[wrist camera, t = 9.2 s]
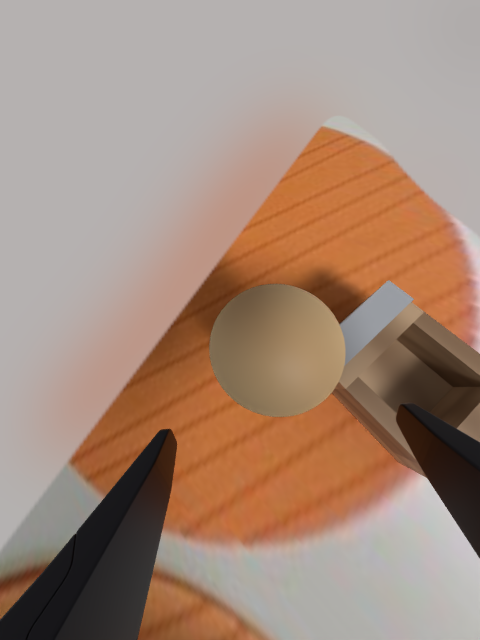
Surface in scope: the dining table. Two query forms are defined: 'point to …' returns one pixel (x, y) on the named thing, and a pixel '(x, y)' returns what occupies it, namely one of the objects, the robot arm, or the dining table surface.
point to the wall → (372, 317)
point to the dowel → (277, 350)
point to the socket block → (412, 380)
